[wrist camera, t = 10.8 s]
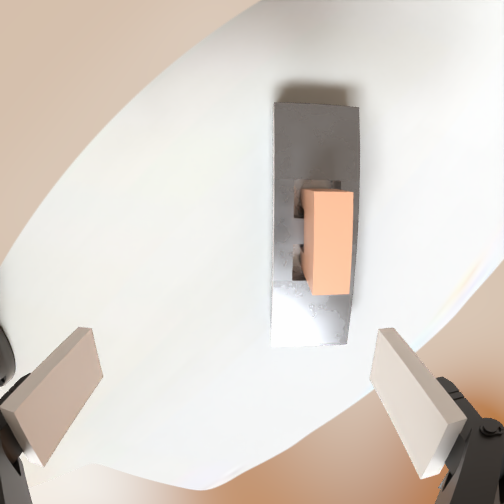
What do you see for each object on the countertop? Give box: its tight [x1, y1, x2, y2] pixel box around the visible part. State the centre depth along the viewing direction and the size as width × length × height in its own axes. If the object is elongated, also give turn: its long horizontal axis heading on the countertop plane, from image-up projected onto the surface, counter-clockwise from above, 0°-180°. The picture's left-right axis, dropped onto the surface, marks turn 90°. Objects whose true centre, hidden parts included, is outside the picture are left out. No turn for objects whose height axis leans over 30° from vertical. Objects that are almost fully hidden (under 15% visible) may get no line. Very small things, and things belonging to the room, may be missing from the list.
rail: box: [271, 102, 360, 346], centre depth 32 cm, size 8×24×4 cm, turn 0°
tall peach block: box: [300, 188, 353, 295], centre depth 28 cm, size 3×8×9 cm, turn 1°
